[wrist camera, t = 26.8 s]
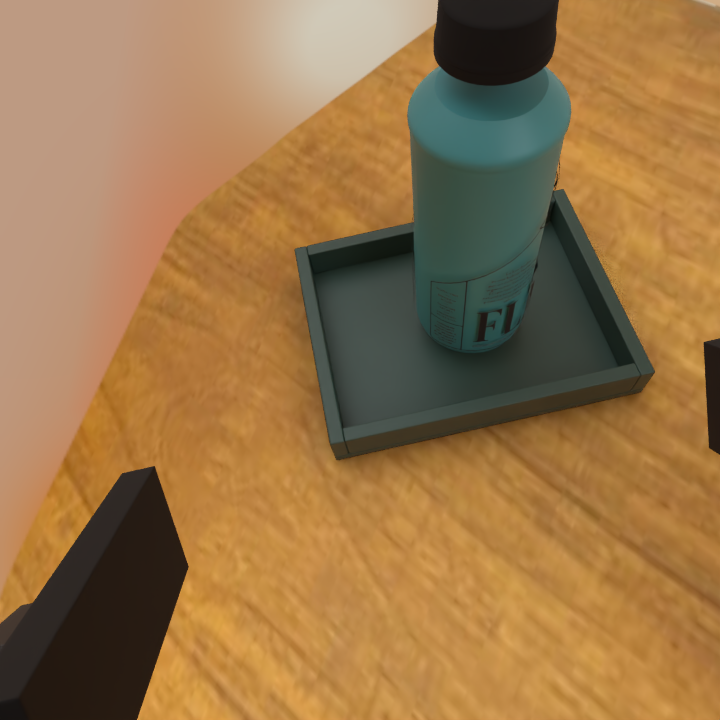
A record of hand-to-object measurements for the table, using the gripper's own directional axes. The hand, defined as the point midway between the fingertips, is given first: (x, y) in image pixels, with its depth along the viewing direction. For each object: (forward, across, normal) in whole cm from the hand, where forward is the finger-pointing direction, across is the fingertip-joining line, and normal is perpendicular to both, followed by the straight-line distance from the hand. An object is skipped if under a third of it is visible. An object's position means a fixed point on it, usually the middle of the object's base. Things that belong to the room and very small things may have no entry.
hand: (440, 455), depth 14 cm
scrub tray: (+23, +5, -3) cm, 24 cm away
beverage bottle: (+23, +6, -3) cm, 24 cm away
